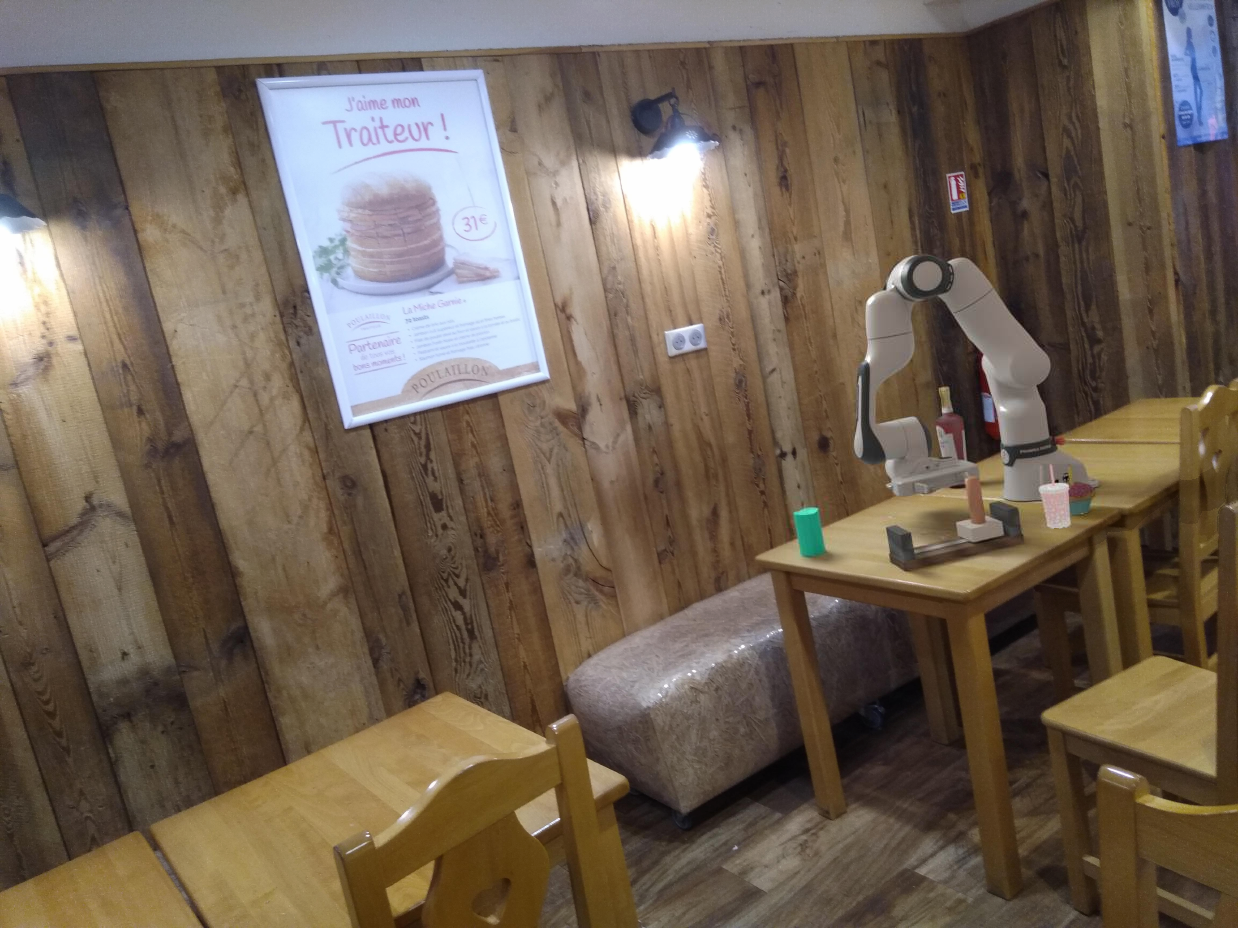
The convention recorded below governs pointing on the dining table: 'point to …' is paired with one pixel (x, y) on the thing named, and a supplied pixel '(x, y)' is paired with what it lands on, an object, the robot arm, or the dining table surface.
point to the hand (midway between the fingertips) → (949, 484)
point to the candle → (809, 532)
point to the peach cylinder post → (977, 516)
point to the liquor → (950, 431)
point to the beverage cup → (1056, 503)
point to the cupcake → (1079, 495)
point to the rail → (953, 542)
